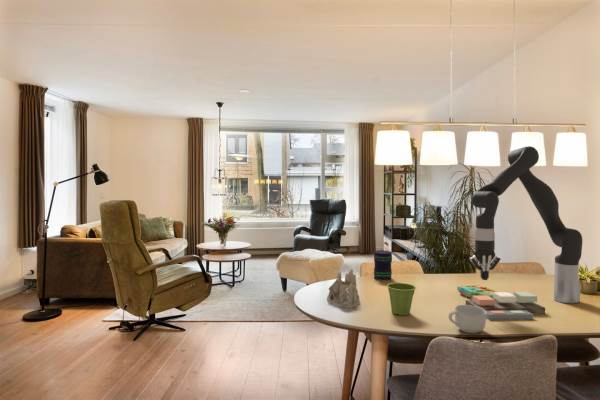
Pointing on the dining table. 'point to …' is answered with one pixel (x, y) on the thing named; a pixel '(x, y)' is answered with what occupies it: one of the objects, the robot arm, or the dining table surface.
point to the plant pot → (401, 297)
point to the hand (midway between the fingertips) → (484, 279)
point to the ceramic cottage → (344, 291)
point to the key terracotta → (483, 300)
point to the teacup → (469, 318)
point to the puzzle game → (475, 291)
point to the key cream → (504, 297)
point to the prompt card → (508, 315)
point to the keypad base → (511, 306)
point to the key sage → (525, 297)
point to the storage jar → (382, 265)
